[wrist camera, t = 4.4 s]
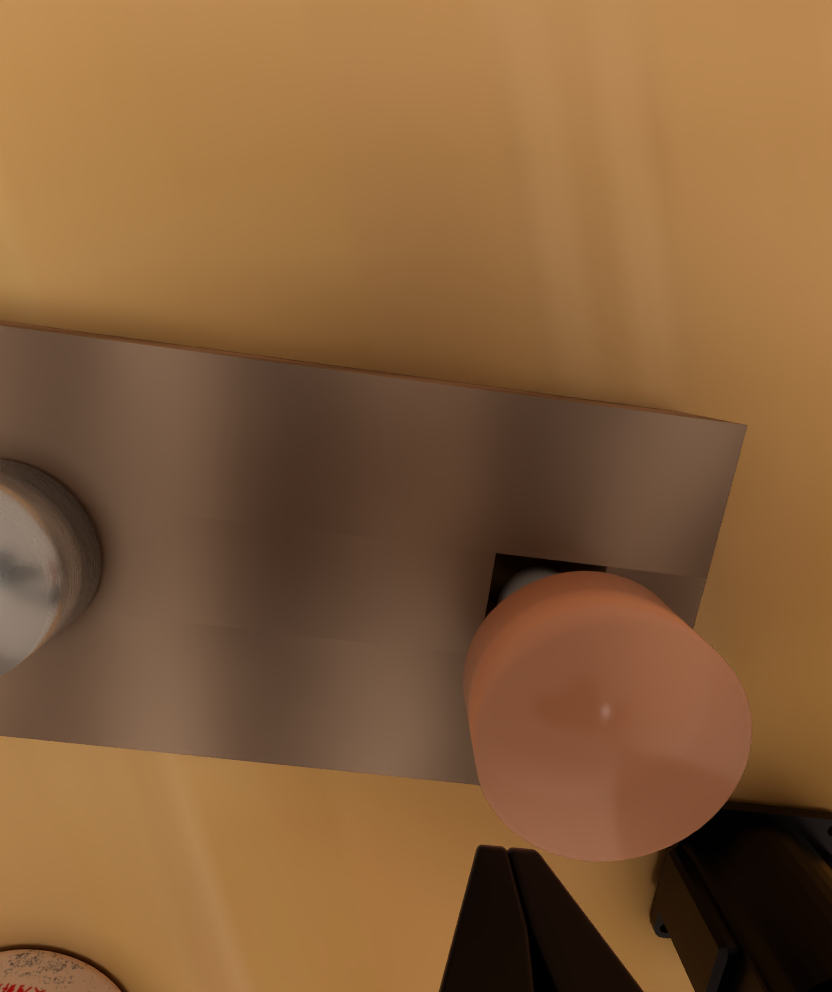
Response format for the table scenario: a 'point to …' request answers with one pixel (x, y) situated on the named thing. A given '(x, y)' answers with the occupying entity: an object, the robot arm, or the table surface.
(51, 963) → the teacup with lid
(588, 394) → the table surface
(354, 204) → the table surface
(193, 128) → the table surface
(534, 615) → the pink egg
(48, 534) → the grey plunger
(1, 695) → the press block
